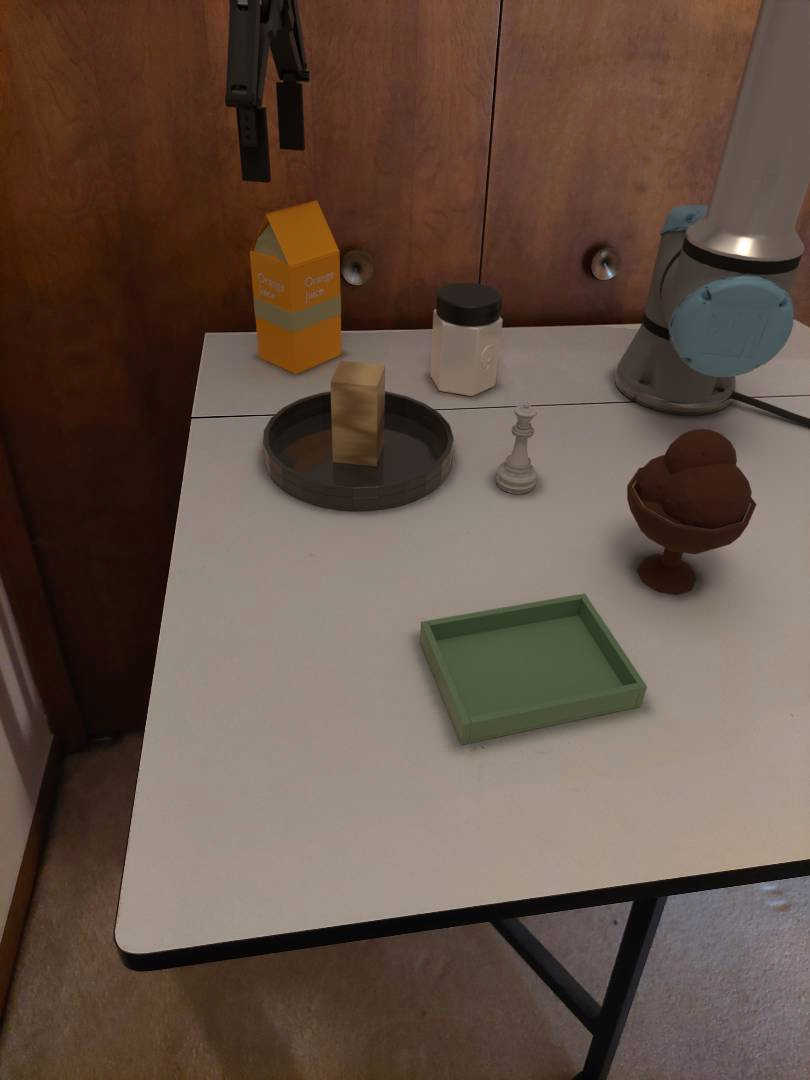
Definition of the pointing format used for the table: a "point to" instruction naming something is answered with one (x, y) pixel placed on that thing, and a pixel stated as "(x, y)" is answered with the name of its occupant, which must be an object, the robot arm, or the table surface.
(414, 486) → the pan
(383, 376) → the block
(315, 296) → the orange juice
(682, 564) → the ice cream bowl
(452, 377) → the jar
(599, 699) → the tray
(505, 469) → the chess piece
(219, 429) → the table surface
